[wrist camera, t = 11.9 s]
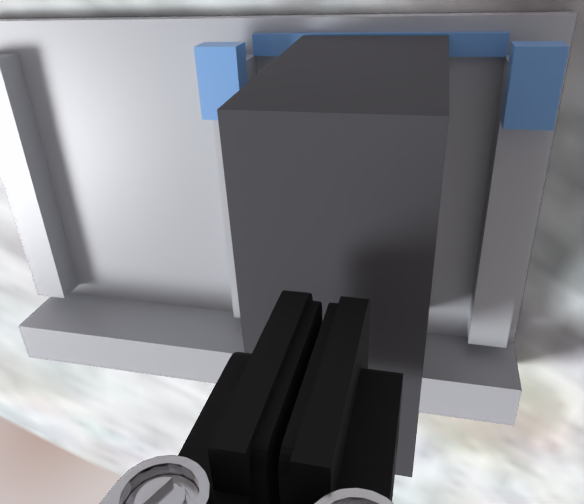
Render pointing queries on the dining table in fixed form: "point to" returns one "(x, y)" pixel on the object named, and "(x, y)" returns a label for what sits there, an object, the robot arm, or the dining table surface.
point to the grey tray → (212, 190)
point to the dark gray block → (343, 190)
